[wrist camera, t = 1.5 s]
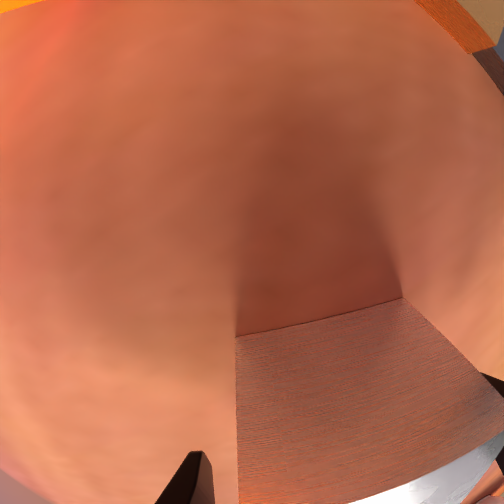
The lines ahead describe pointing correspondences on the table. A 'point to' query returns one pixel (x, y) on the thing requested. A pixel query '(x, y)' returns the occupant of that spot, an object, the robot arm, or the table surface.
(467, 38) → the ratchet
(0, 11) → the orange juice
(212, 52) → the table surface
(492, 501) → the lidded jar
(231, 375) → the table surface
